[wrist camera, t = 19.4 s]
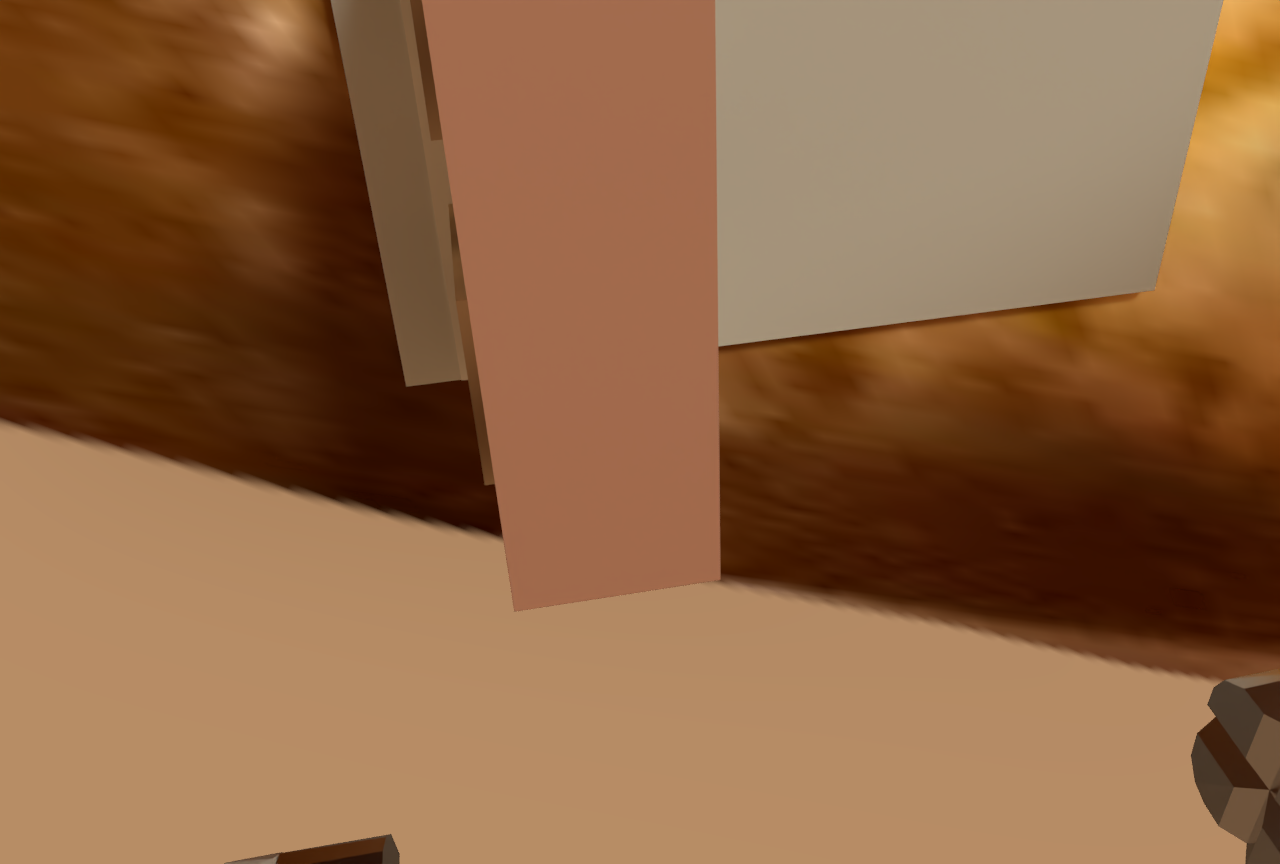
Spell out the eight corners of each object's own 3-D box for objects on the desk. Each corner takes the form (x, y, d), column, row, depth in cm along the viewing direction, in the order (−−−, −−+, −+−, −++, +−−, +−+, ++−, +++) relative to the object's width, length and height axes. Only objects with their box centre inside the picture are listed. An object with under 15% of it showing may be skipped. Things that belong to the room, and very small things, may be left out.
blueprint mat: (288, -230, 21) (285, -228, 21) (1280, -294, 23) (1294, -294, 23) (406, 378, 29) (406, 387, 28) (1146, 284, 31) (1155, 291, 31)
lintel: (500, 487, 24) (514, 611, 21) (404, -154, 17) (404, -118, 14) (679, 462, 25) (720, 579, 21) (657, -173, 18) (713, -142, 14)
